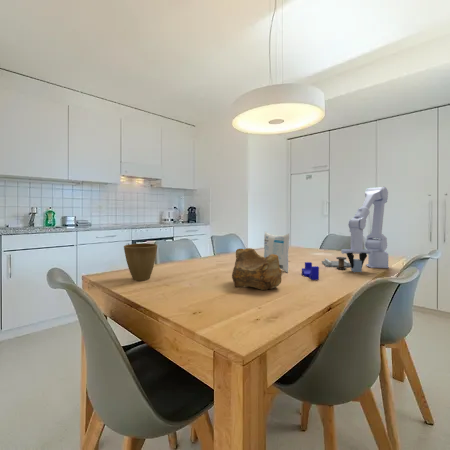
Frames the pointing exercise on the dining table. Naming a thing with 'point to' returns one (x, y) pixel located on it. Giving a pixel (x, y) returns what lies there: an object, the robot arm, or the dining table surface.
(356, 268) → the blue-grey block
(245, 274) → the rough brown rock
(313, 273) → the cable clip
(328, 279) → the dining table surface
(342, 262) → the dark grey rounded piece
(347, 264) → the grey railed square plate
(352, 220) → the robot arm
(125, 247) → the plant pot
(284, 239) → the pouch
